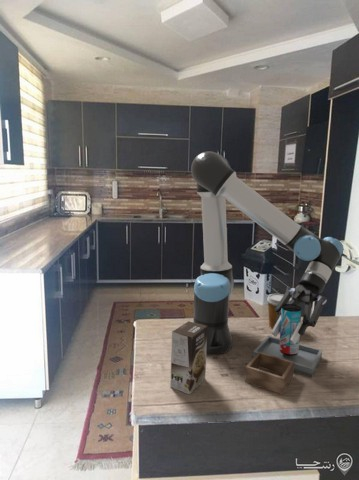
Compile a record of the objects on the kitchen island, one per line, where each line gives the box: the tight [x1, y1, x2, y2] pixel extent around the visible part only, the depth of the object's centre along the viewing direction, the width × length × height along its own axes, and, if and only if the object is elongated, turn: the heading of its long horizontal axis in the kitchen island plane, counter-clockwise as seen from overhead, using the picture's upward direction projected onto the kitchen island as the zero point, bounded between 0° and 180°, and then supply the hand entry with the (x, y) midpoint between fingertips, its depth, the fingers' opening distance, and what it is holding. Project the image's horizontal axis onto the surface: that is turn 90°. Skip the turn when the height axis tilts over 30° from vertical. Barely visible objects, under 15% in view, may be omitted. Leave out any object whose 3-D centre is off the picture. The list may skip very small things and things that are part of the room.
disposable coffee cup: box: [266, 293, 292, 329], centre depth 135 cm, size 10×10×12 cm
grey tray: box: [252, 335, 323, 378], centre depth 112 cm, size 18×14×2 cm
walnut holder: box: [244, 352, 295, 395], centre depth 100 cm, size 11×11×4 cm
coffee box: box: [169, 320, 208, 395], centre depth 96 cm, size 9×6×16 cm
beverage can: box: [279, 304, 302, 356], centre depth 111 cm, size 6×6×15 cm
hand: (283, 338), depth 109 cm, fingers closed on beverage can, 6 cm apart
